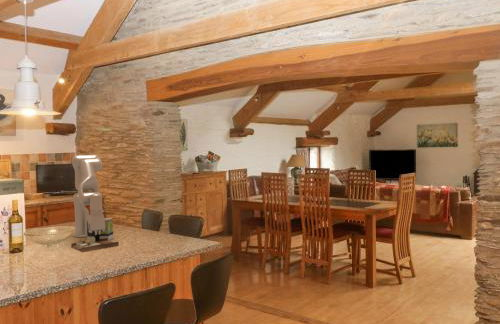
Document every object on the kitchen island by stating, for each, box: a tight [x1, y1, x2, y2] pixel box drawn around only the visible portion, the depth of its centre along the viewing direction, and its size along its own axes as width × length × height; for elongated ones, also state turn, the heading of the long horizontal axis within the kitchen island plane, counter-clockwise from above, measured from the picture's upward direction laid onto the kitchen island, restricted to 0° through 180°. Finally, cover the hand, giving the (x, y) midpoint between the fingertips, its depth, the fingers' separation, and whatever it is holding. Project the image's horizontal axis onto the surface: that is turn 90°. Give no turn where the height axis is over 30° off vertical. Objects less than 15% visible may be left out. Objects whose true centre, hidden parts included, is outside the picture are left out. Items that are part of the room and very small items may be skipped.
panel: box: [75, 237, 100, 247], centre depth 293 cm, size 14×10×5 cm
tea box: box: [86, 217, 114, 241], centre depth 317 cm, size 15×10×15 cm
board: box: [70, 237, 120, 253], centre depth 297 cm, size 18×24×5 cm
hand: (97, 240), depth 297 cm, fingers closed
